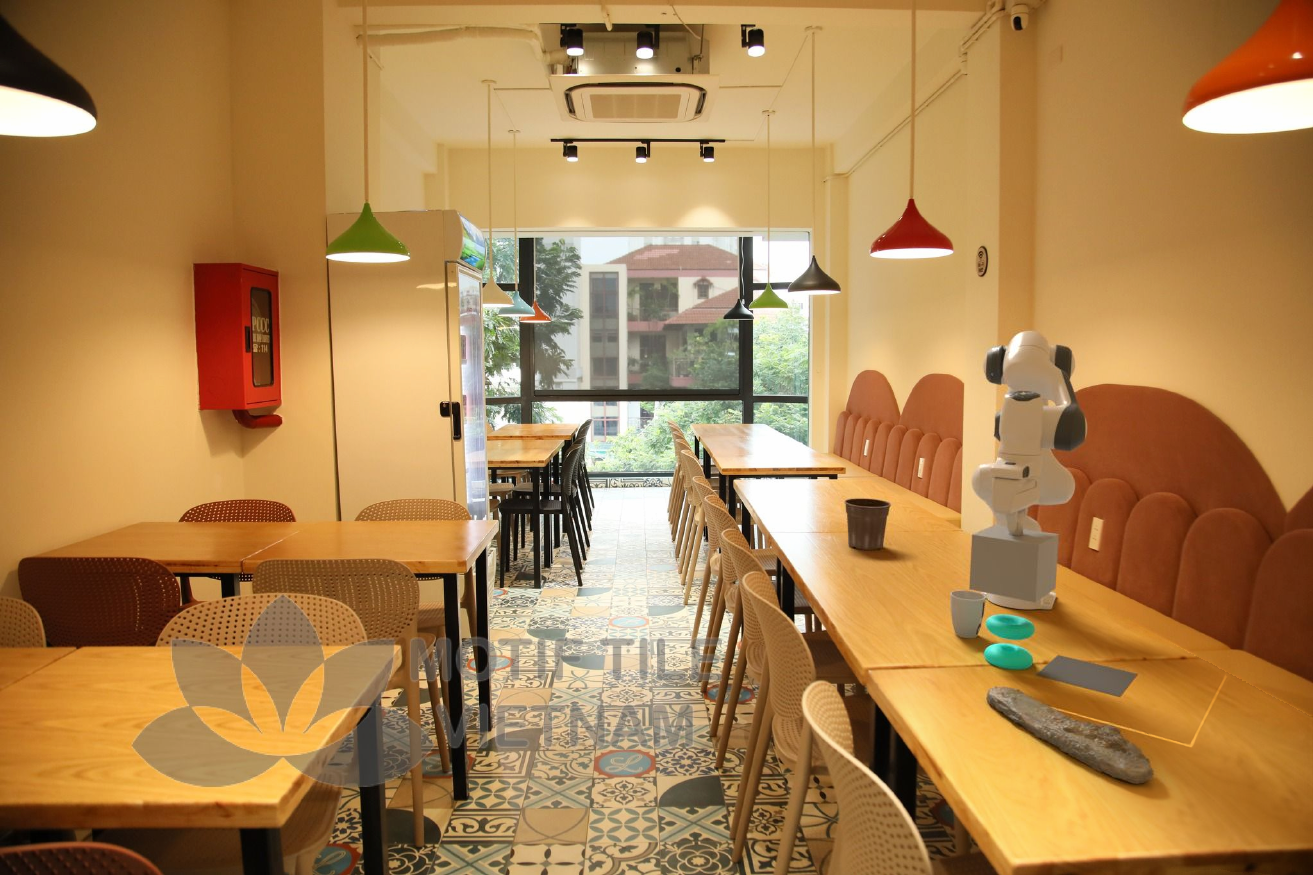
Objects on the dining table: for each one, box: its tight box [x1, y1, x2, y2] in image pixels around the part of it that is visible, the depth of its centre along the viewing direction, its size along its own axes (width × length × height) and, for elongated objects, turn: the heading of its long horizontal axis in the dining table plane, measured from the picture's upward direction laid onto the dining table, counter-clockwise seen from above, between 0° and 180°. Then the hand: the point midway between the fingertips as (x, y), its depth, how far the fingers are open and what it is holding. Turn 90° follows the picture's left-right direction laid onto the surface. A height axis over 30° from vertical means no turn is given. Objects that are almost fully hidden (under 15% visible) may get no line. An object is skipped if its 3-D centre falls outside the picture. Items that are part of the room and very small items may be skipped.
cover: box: [968, 511, 1060, 603], centre depth 177 cm, size 14×14×17 cm
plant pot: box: [844, 497, 892, 551], centre depth 288 cm, size 16×16×16 cm
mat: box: [1035, 654, 1139, 698], centre depth 172 cm, size 16×16×1 cm
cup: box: [949, 589, 987, 639], centre depth 197 cm, size 8×8×10 cm
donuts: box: [983, 613, 1036, 670], centre depth 179 cm, size 10×10×10 cm
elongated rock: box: [986, 685, 1155, 784], centre depth 144 cm, size 35×5×10 cm
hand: (1015, 528), depth 176 cm, fingers closed on cover, 3 cm apart
